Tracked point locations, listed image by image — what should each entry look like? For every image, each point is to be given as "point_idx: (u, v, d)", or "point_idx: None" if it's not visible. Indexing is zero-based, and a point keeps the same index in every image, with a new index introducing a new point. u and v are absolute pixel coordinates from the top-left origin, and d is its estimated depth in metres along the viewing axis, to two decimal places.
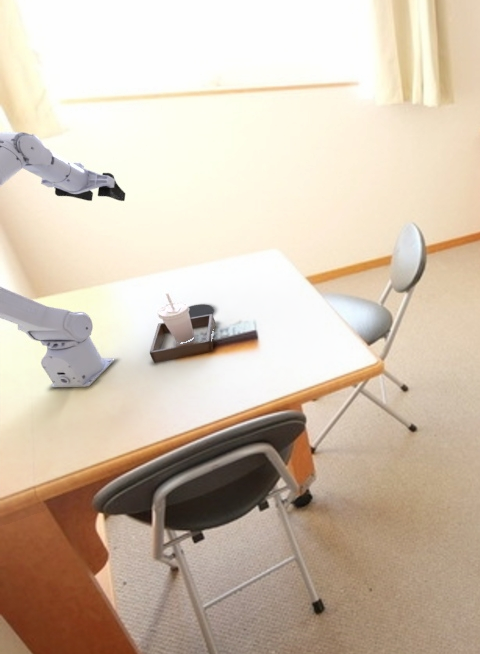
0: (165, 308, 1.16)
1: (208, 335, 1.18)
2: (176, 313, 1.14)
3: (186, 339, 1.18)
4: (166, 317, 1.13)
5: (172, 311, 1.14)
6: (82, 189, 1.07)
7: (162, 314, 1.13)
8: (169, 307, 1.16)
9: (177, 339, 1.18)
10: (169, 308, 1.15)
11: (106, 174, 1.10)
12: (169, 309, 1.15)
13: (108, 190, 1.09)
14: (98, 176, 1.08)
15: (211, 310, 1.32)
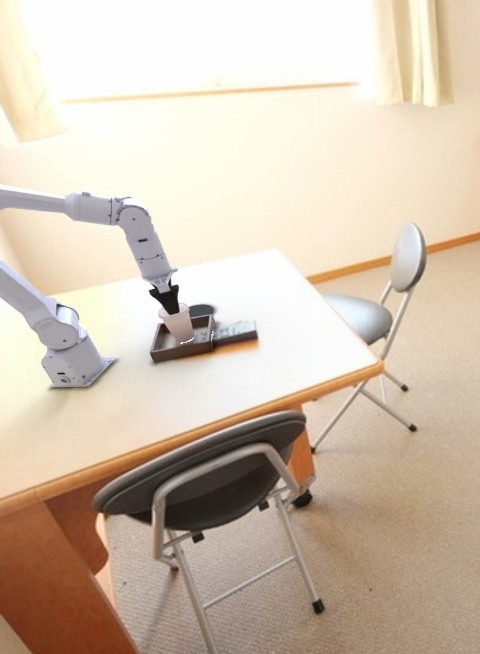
0: None
1: (208, 335, 1.18)
2: None
3: (186, 339, 1.18)
4: (166, 317, 1.13)
5: None
6: (146, 278, 1.07)
7: (162, 314, 1.13)
8: None
9: (177, 339, 1.18)
10: None
11: (176, 286, 1.09)
12: None
13: (156, 292, 1.06)
14: (165, 280, 1.07)
15: (211, 310, 1.32)
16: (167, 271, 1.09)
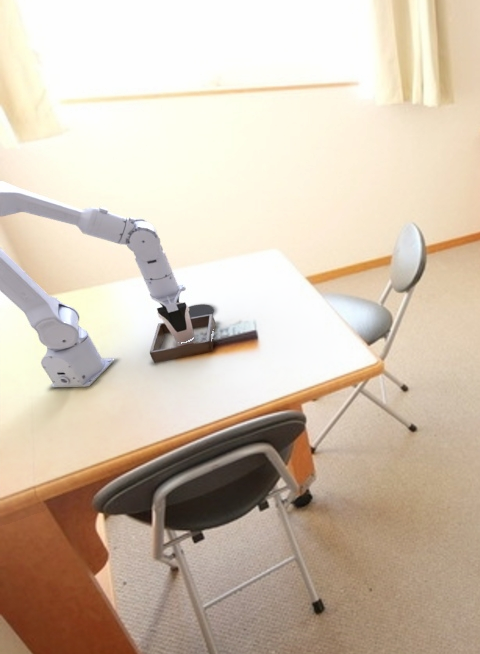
0: None
1: (208, 335, 1.18)
2: None
3: (186, 339, 1.18)
4: None
5: None
6: (154, 297, 1.10)
7: None
8: None
9: (177, 339, 1.18)
10: None
11: (183, 304, 1.12)
12: None
13: (164, 310, 1.09)
14: (173, 299, 1.10)
15: (211, 310, 1.32)
16: (175, 290, 1.12)
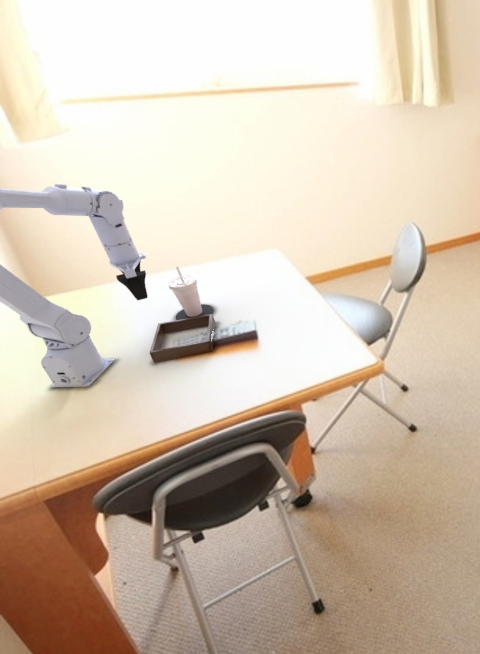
0: (174, 280, 1.26)
1: (208, 335, 1.18)
2: (185, 285, 1.24)
3: (194, 309, 1.29)
4: (176, 288, 1.23)
5: (181, 283, 1.25)
6: (114, 264, 1.13)
7: (172, 285, 1.24)
8: (179, 279, 1.26)
9: (186, 309, 1.28)
10: (179, 280, 1.26)
11: (143, 272, 1.15)
12: (179, 281, 1.25)
13: (123, 277, 1.12)
14: (132, 266, 1.13)
15: (211, 310, 1.32)
16: (134, 258, 1.15)
